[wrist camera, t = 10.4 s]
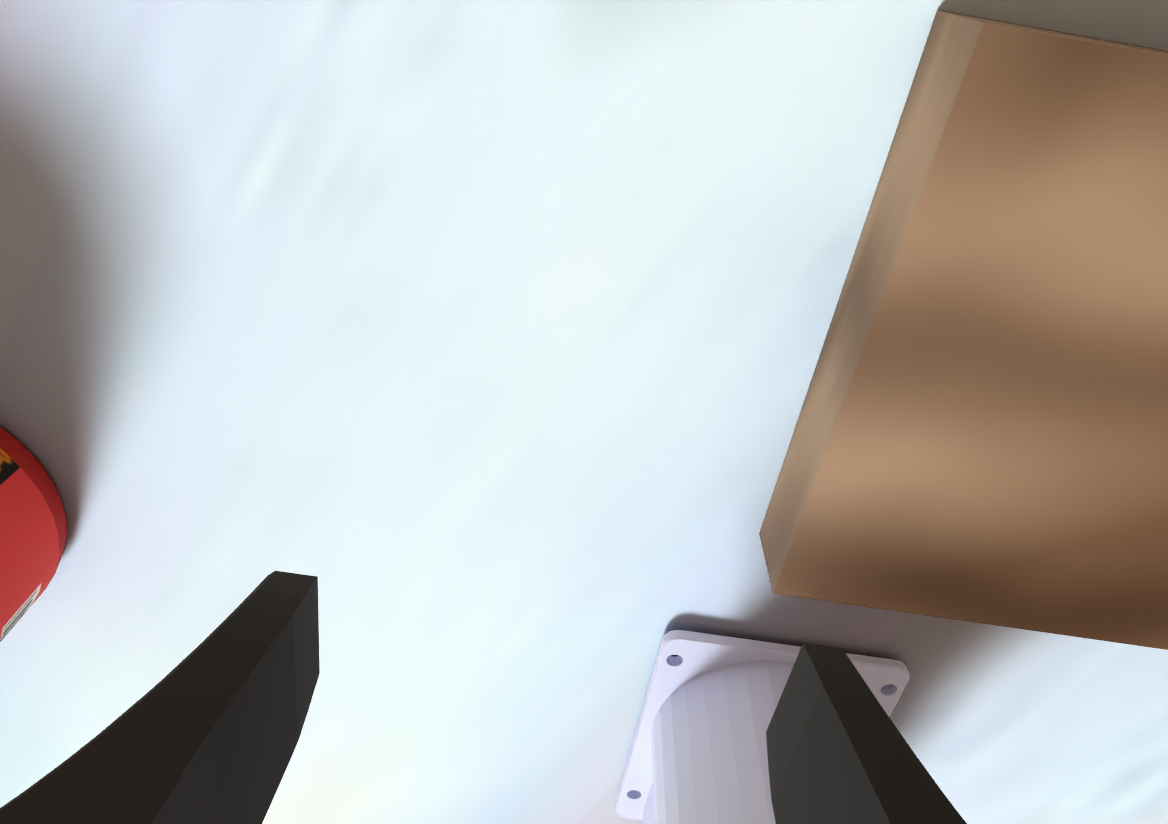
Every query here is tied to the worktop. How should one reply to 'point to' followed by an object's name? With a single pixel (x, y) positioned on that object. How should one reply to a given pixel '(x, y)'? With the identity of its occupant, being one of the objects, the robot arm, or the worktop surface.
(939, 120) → the board
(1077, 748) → the worktop surface
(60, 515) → the canned food
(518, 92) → the worktop surface
